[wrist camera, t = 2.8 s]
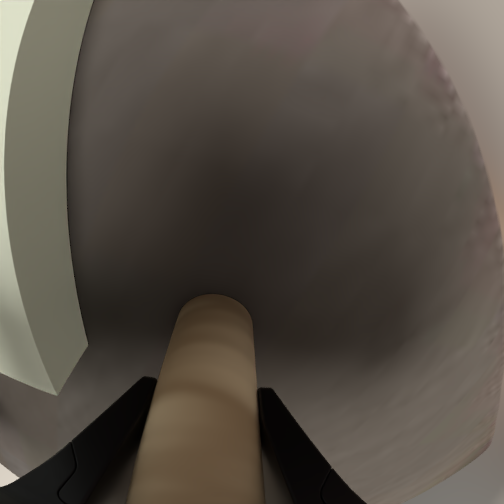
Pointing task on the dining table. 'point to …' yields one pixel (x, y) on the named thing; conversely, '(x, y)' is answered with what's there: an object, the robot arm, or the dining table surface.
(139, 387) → the robot arm
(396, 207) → the dining table surface
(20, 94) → the socket block
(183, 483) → the dowel
